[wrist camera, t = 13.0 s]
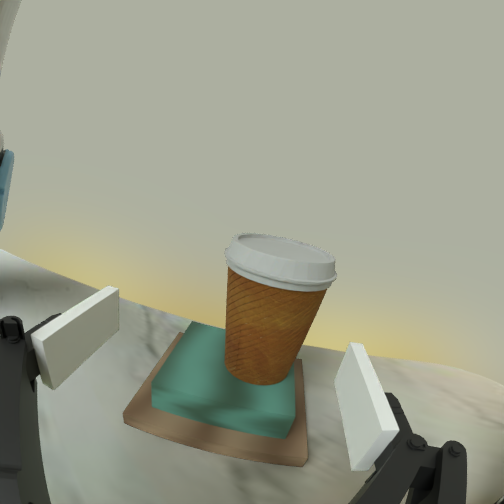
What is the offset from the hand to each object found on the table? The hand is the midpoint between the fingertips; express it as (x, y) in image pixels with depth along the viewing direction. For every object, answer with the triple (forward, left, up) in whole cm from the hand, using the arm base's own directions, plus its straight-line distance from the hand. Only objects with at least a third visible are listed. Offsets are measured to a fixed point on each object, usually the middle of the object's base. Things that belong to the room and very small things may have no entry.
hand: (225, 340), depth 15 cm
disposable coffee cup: (+2, +10, -9) cm, 13 cm away
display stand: (0, +10, -13) cm, 16 cm away
